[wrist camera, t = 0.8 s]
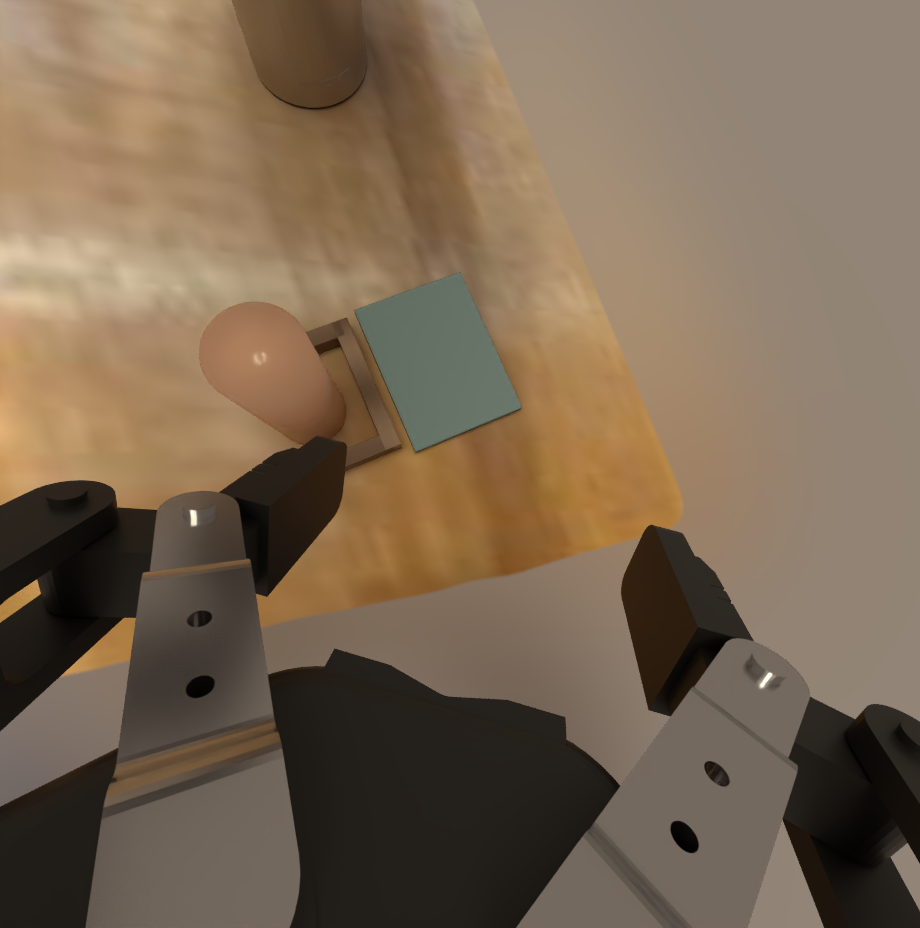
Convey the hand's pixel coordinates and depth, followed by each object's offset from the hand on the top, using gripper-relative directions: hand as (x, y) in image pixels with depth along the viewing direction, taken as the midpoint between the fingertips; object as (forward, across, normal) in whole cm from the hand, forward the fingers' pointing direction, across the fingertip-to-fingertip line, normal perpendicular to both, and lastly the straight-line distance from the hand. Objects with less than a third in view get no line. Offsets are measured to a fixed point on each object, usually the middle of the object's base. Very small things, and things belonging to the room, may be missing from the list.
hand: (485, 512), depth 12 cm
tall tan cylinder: (+20, +14, +7) cm, 26 cm away
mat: (+24, +6, +2) cm, 25 cm away
